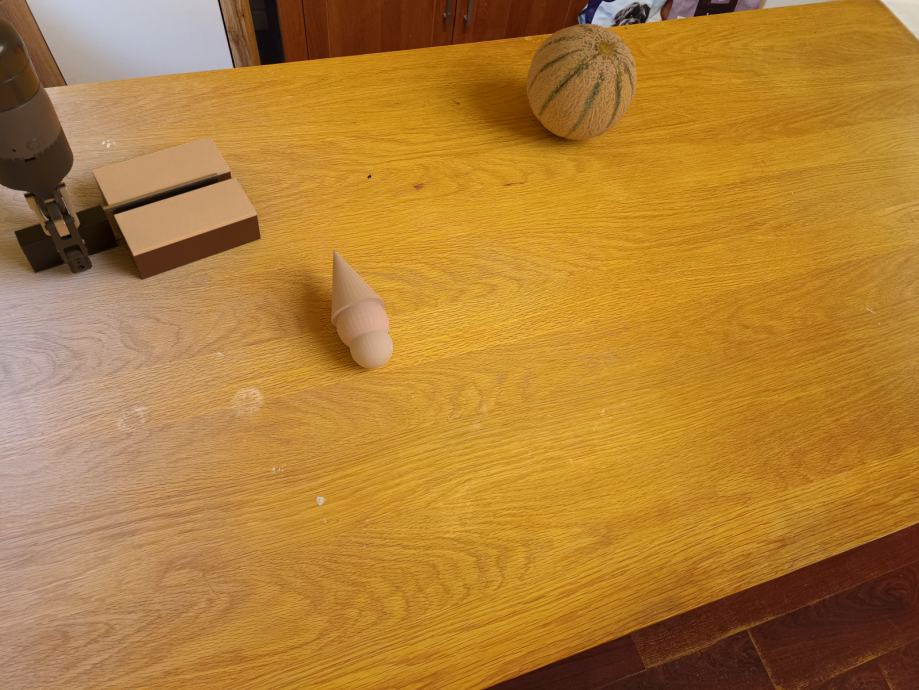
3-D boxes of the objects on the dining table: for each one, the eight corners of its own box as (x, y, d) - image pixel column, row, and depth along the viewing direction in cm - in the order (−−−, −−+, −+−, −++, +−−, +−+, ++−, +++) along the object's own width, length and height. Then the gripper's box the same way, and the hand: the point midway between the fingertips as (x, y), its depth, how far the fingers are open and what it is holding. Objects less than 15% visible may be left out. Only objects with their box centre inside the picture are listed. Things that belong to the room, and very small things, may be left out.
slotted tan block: (142, 279, 82) (132, 253, 79) (102, 198, 88) (91, 169, 85) (261, 238, 88) (256, 212, 84) (215, 164, 94) (210, 136, 90)
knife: (35, 273, 81) (18, 243, 77) (29, 258, 82) (12, 227, 78) (227, 210, 89) (221, 179, 85) (219, 197, 91) (213, 166, 86)
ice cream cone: (338, 225, 79) (386, 347, 74) (369, 241, 84) (416, 356, 79) (295, 255, 81) (339, 376, 76) (328, 269, 86) (371, 382, 81)
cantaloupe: (533, 82, 111) (556, -14, 98) (627, 112, 109) (662, 18, 97) (504, 141, 102) (524, 44, 90) (605, 174, 101) (640, 81, 89)
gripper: (-47, 93, 71) (19, 215, 84) (-8, 190, 64) (55, 305, 78) (37, 73, 73) (87, 195, 87) (81, 165, 67) (127, 280, 81)
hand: (72, 246), depth 83 cm, fingers open, 6 cm apart
